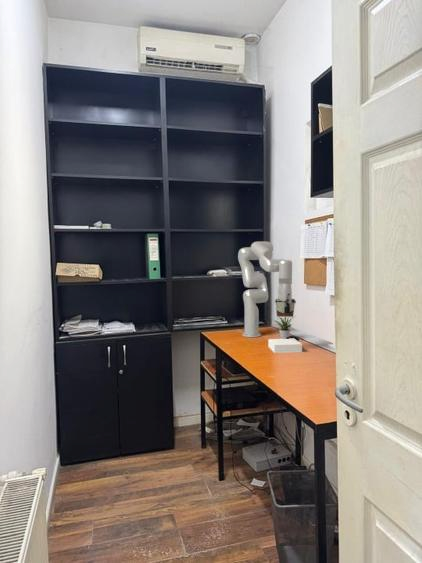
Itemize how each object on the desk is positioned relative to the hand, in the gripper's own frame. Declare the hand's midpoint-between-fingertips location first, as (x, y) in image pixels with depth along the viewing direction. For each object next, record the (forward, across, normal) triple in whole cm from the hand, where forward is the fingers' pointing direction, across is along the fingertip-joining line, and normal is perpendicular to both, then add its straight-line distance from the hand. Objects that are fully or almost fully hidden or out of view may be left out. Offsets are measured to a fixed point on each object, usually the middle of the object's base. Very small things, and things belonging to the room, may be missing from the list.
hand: (284, 311), depth 223 cm
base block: (+23, 0, 0) cm, 23 cm away
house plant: (+23, -24, +11) cm, 35 cm away
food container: (+3, -1, 0) cm, 3 cm away
